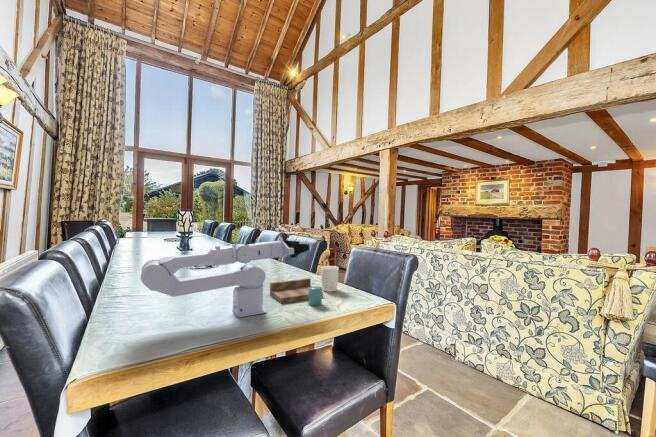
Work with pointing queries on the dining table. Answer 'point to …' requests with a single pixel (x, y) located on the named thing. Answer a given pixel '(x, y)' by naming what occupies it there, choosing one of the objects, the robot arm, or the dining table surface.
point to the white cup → (329, 278)
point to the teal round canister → (315, 296)
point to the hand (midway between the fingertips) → (303, 245)
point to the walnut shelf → (290, 290)
